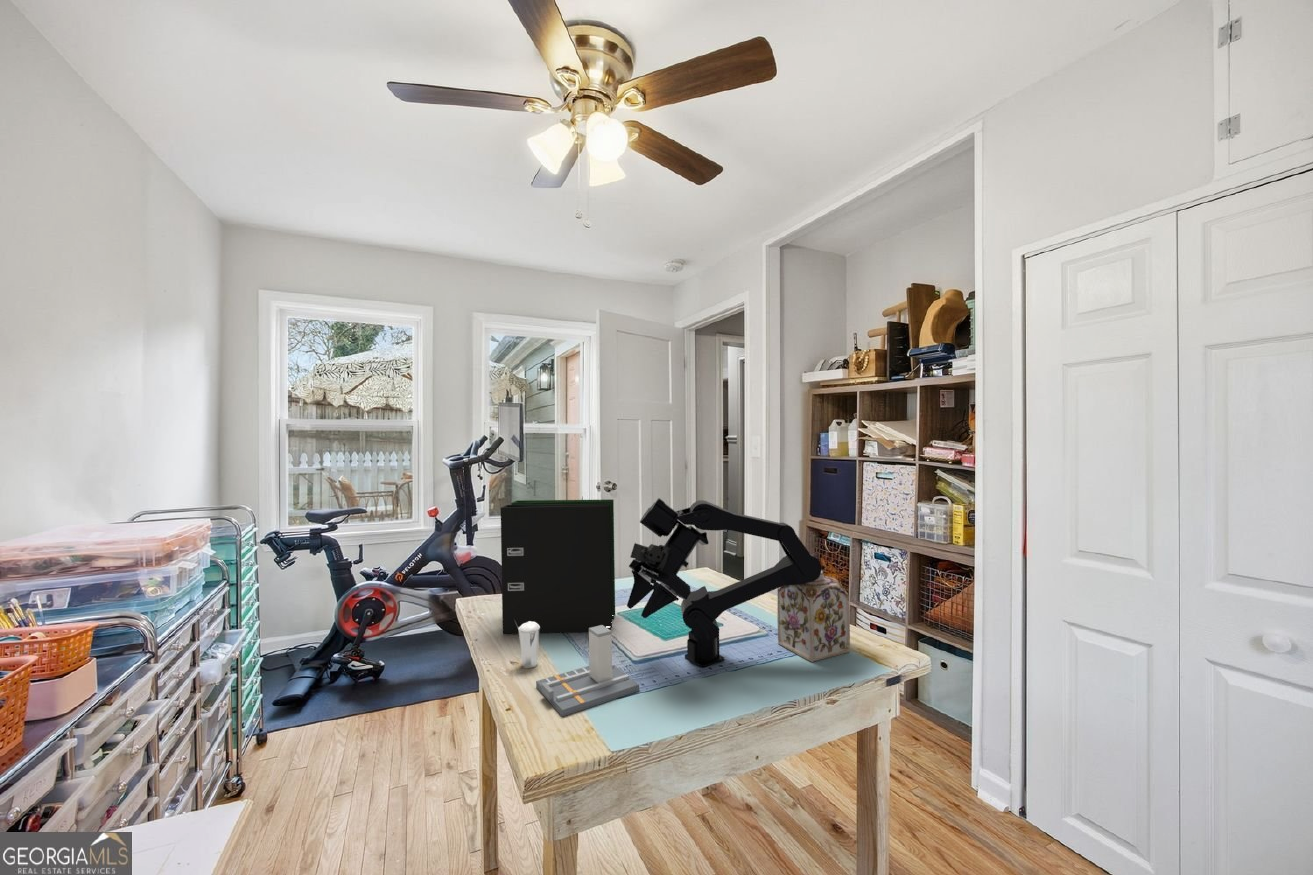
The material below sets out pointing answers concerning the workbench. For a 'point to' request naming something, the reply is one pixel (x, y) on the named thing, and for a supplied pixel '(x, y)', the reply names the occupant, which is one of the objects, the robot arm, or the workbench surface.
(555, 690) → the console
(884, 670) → the workbench surface
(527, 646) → the milkshake
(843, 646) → the decorative jar
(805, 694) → the workbench surface
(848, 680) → the workbench surface
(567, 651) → the workbench surface
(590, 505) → the binder
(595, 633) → the fader tab
